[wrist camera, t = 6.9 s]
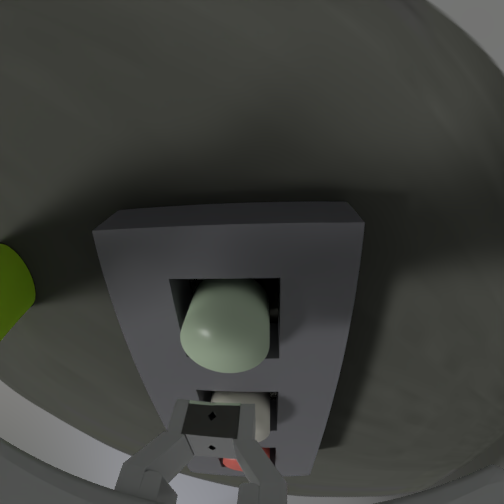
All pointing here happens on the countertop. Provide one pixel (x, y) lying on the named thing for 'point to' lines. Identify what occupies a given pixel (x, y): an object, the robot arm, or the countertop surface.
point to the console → (238, 267)
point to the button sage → (227, 325)
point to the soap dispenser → (13, 289)
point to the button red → (234, 464)
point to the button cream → (255, 398)
